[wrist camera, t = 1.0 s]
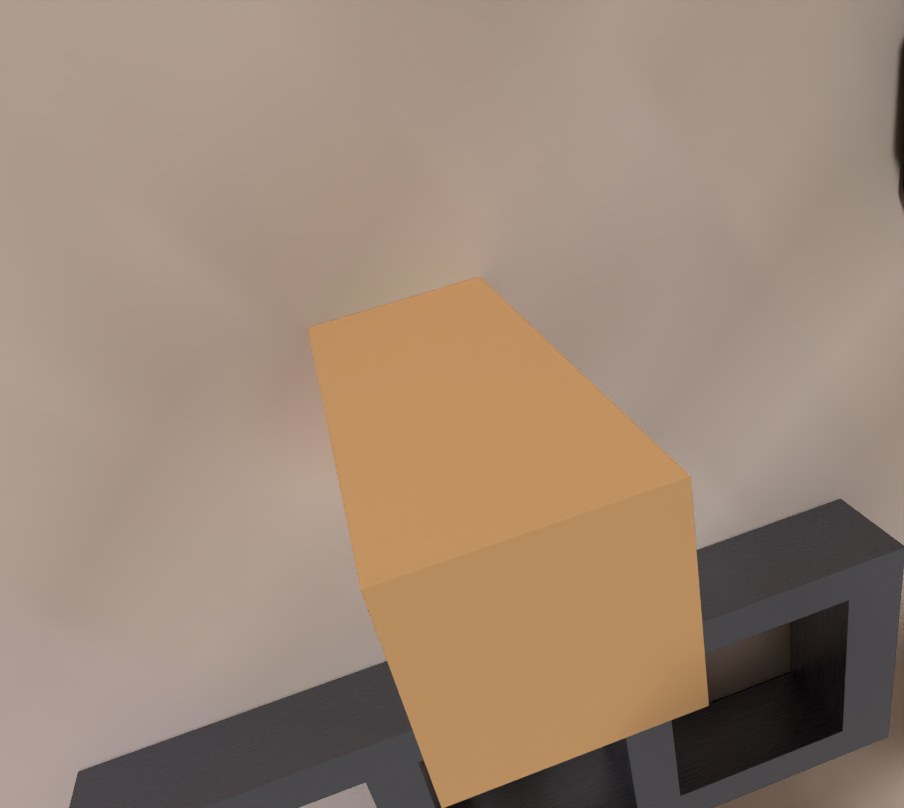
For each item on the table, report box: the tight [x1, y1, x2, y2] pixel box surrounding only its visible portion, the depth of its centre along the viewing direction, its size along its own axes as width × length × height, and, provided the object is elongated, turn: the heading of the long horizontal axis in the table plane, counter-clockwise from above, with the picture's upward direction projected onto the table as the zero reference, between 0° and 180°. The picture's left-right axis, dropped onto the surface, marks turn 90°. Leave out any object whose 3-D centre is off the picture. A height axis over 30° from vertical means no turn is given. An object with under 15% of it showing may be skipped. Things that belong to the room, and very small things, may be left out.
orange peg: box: [308, 277, 709, 808], centre depth 13 cm, size 4×4×9 cm
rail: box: [69, 499, 904, 808], centre depth 22 cm, size 23×8×2 cm, turn 103°
